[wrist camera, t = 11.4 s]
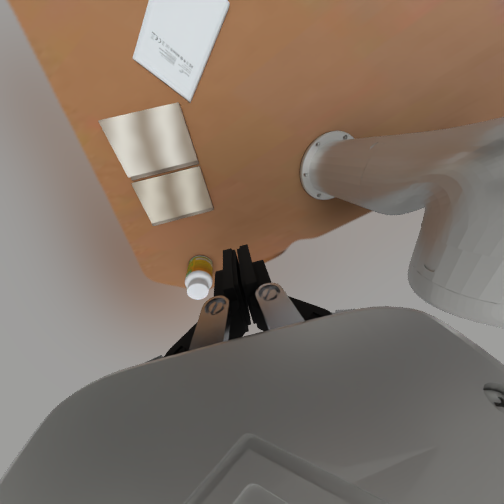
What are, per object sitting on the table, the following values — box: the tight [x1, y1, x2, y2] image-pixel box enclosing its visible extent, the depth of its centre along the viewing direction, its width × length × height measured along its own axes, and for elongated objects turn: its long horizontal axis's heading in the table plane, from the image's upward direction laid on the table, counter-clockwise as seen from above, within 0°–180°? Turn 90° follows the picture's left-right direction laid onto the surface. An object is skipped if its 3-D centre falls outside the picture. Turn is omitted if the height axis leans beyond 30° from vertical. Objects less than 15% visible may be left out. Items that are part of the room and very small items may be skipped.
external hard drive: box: [133, 0, 230, 102], centre depth 25 cm, size 2×8×12 cm
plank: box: [131, 166, 214, 226], centre depth 34 cm, size 12×8×1 cm, turn 102°
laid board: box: [99, 103, 199, 180], centre depth 30 cm, size 12×9×1 cm
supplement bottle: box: [185, 255, 212, 300], centre depth 38 cm, size 5×5×10 cm
